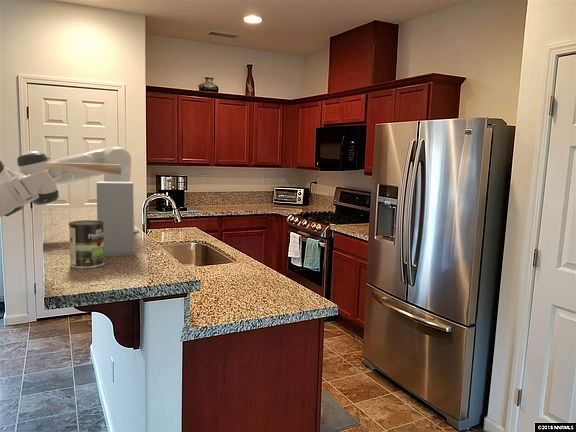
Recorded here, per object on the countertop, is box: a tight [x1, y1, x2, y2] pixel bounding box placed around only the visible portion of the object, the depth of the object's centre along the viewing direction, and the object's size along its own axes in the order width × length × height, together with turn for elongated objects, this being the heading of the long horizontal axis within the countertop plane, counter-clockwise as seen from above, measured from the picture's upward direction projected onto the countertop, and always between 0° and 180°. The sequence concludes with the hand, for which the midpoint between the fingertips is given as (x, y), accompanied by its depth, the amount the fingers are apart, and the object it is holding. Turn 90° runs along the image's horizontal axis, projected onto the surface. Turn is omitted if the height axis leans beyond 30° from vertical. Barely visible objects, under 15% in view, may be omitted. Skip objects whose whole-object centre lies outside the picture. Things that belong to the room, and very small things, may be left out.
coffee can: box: [68, 219, 105, 270], centre depth 145 cm, size 10×10×14 cm
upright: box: [96, 180, 136, 257], centre depth 162 cm, size 9×13×26 cm
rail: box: [44, 161, 121, 175], centre depth 142 cm, size 4×22×3 cm, turn 109°
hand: (67, 166), depth 140 cm, fingers closed on rail, 3 cm apart
